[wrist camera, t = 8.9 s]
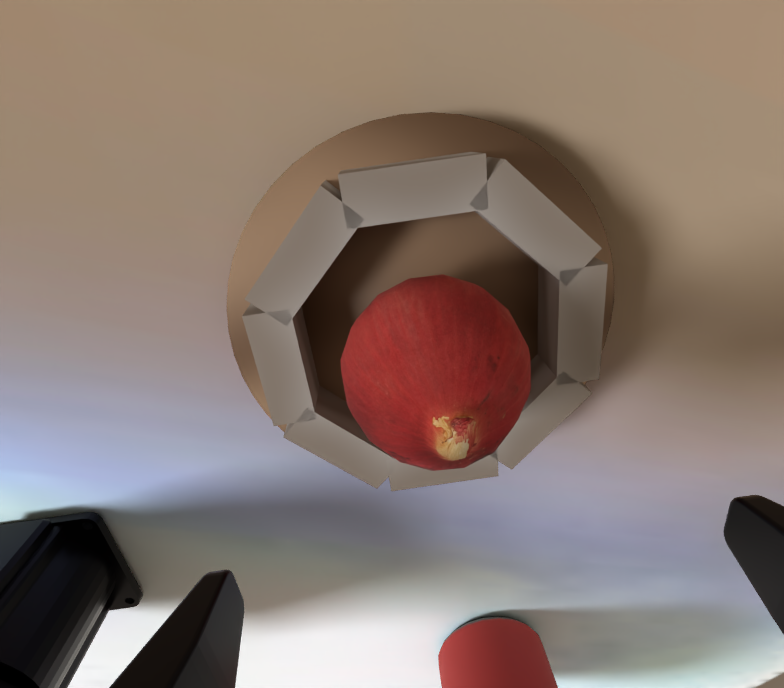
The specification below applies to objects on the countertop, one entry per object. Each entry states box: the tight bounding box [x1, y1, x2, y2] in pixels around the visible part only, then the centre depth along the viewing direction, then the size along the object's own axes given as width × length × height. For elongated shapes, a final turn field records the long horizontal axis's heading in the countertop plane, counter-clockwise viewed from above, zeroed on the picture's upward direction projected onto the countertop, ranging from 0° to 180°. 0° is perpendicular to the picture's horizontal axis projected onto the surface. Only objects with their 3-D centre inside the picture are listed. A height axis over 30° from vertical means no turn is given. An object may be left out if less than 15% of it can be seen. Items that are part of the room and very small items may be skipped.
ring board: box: [227, 112, 614, 491], centre depth 17 cm, size 15×15×4 cm
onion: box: [340, 274, 531, 471], centre depth 14 cm, size 6×6×8 cm
